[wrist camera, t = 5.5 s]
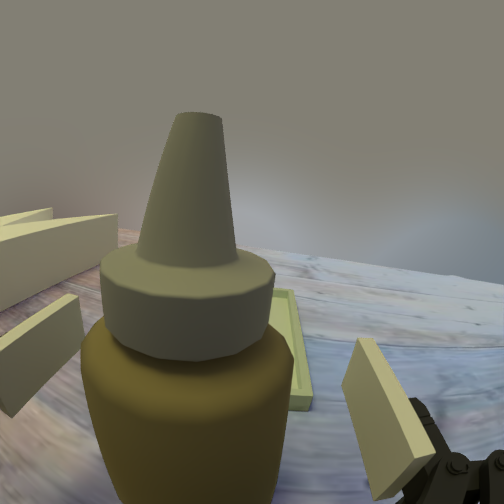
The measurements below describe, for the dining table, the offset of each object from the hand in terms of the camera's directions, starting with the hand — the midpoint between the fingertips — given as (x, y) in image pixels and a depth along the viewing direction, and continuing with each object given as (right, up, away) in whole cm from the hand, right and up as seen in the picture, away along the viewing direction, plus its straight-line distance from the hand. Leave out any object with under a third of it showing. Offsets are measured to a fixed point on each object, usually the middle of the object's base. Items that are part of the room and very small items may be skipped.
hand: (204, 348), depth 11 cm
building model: (-40, -1, +21) cm, 46 cm away
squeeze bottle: (-1, -10, -1) cm, 10 cm away
